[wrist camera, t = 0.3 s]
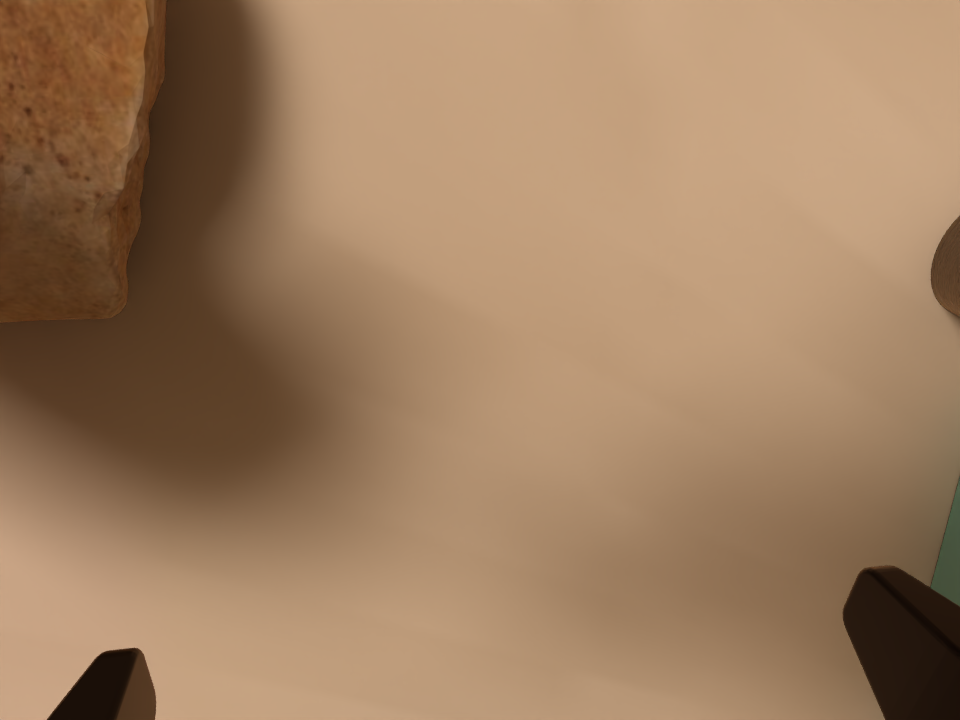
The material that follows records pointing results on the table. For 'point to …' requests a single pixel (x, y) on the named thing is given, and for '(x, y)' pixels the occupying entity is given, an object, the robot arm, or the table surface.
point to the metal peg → (948, 269)
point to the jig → (950, 556)
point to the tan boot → (73, 150)
